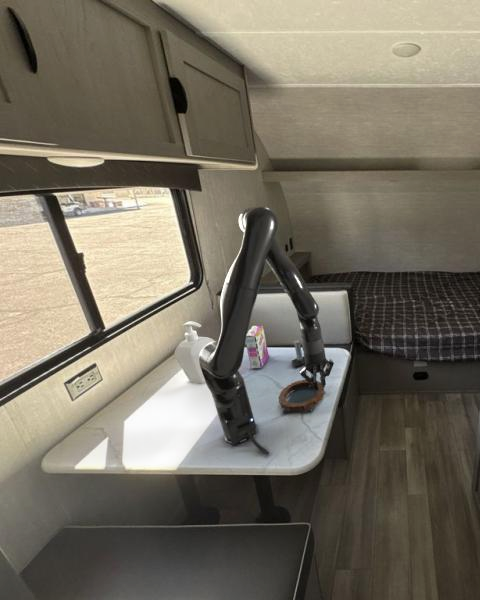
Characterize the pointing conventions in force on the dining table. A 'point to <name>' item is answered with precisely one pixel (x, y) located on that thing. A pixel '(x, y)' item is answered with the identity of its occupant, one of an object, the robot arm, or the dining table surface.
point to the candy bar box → (256, 347)
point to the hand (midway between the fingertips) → (319, 387)
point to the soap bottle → (191, 353)
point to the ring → (303, 405)
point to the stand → (298, 355)
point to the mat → (301, 397)
